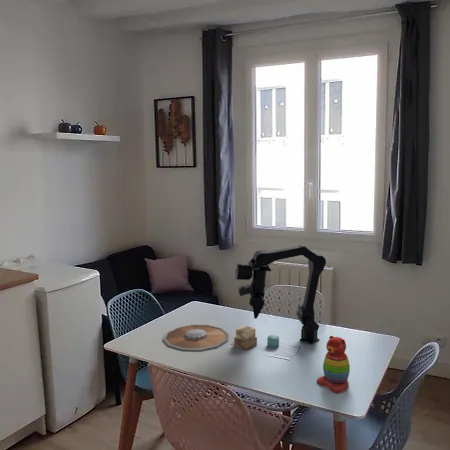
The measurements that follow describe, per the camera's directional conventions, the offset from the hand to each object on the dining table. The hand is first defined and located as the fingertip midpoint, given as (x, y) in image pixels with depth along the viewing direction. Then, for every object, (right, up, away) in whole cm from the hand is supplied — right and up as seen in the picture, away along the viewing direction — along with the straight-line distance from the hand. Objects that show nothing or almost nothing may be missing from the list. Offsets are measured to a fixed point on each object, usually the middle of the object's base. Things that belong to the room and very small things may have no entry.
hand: (255, 315), depth 208 cm
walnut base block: (-4, -14, 0) cm, 14 cm away
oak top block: (-4, -10, 0) cm, 11 cm away
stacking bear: (+27, -19, -35) cm, 48 cm away
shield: (-27, -13, +9) cm, 31 cm away
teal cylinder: (+8, -14, 0) cm, 15 cm away
